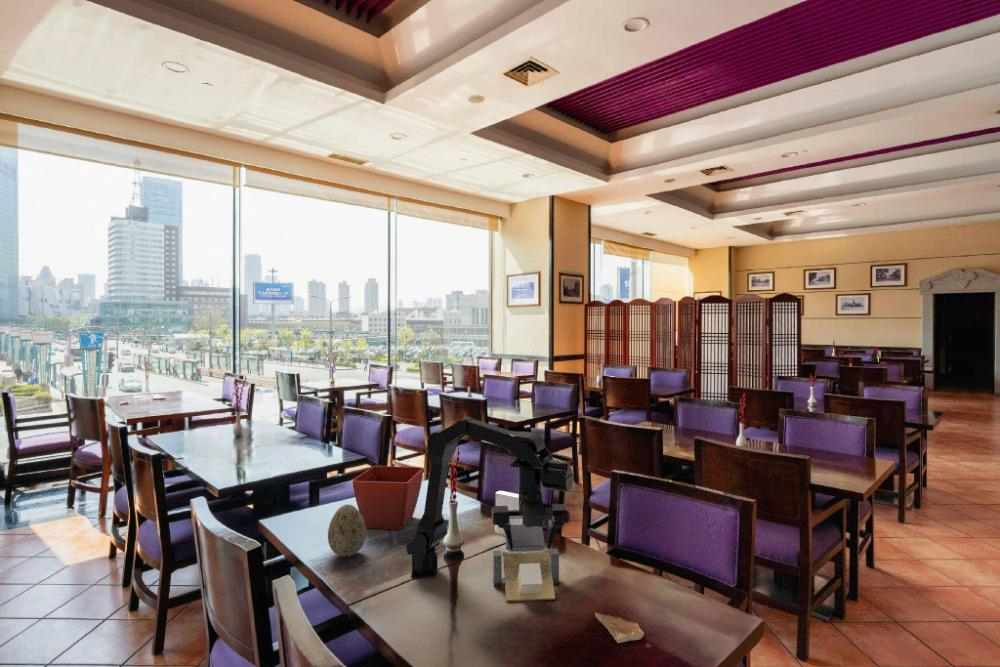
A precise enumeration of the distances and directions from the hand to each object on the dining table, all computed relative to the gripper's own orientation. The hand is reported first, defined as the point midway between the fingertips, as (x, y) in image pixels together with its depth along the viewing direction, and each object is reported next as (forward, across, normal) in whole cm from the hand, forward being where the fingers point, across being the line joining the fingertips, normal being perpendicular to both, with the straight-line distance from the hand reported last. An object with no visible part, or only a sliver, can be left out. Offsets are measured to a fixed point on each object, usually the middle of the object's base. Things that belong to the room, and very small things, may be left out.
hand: (530, 548), depth 128 cm
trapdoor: (+7, 0, +7) cm, 10 cm away
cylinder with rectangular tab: (+13, -1, +43) cm, 45 cm away
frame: (+12, 0, +8) cm, 15 cm away
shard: (+13, +17, -15) cm, 26 cm away
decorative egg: (+13, -50, +28) cm, 59 cm away
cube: (+9, 0, +2) cm, 9 cm away
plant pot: (+13, -41, +53) cm, 68 cm away
